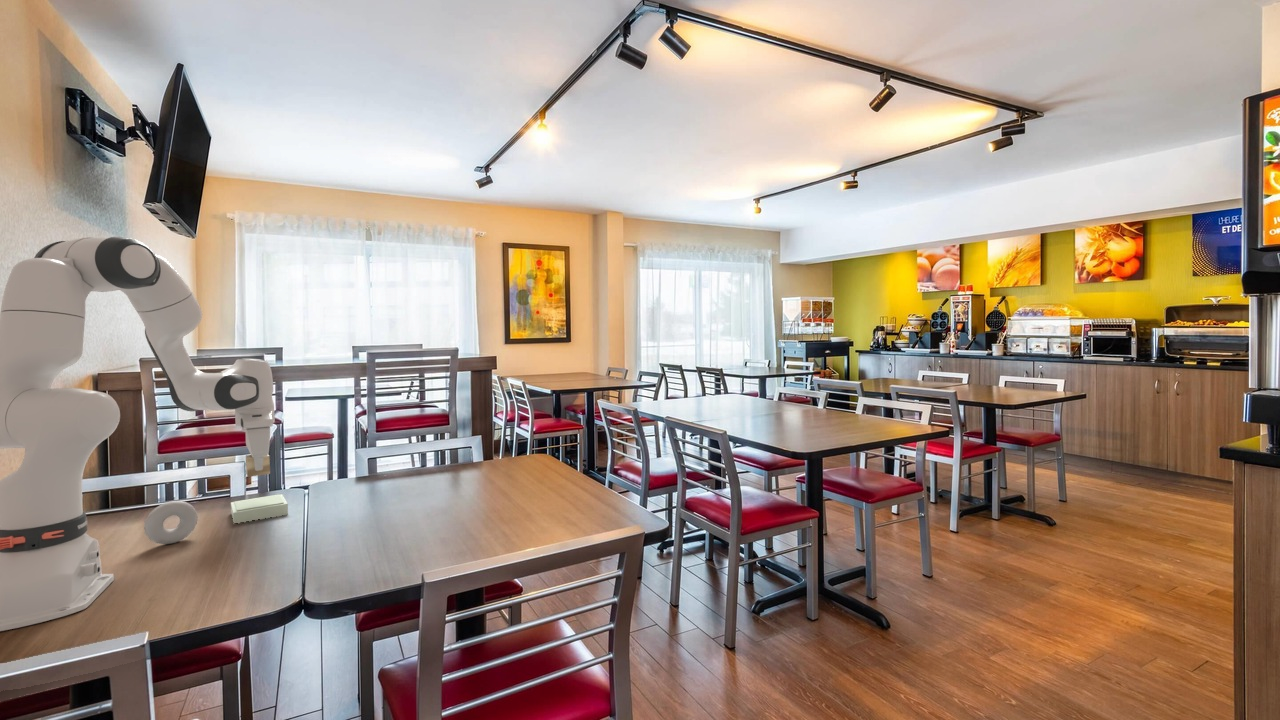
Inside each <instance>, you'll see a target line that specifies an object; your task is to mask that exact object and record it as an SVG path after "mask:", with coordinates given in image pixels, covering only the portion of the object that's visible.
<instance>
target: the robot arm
mask: <svg viewBox="0 0 1280 720" xmlns="http://www.w3.org/2000/svg"><path fill="white" fill-rule="evenodd" d="M10 271H11V272H10V274H9V276H8V278H7V280H6V284H5V288H4V292H3V295H2V300H1V308H0V449H1V450H2V449H3V450H4V449H24V456H23V458H22V462H21V464H20V465H19V467H18V469H17V470H15V471H12V472H11V473H9V474H7V475H6V476H5V477H3V478H1V479H0V632H4V631H8V630H12V629H13V630H14V629H18V628H23V627H27V626H32V625H36V624H40V623H43V622H47V621H50V620H51V621H52V620H55V619H56V620H57V619H59V618H62V617H66V616H69V615H72V614H74V613H77V612H80V611H84V610H86V609H87V608H88V607H89V606H90V605H91V604H92V603H93V602H94V601H95V600H96V599H97V598H98V597H100V595H101V594H102V593H103V592H104V591H105V590H106V589H107V588H108V587H109V586H110V584H111V583H113V582H114V581H115V576H114V573H103V571H102V562H101V553H100V543H99V540H98V539H96V538H94V537H91V536H90V535H88V534H87V531H88V518H87V514H86V512H85V511H83V508H84V507H83V477H84V471H85V467H86V464H87V462H88V461H89V458H90V456H91V455H92V453H93V452H94V450H95V449H96V448H97V447H98V446H99V445H100V444H101V443H102V442H103V441H105V440H107V439H108V438H109V437H110V436H111V435H112V434H113V433H114V432H115V431H116V429H117V428H118V426H119V423H120V419H121V412H120V411H121V410H120V407H119V405H118V403H117V401H116V400H115V399H114V398H113V397H112V396H111V395H110V394H108V393H106V392H103V391H98V390H91V389H86V388H79V387H70V388H69V387H66V388H63V387H62V388H59V387H58V388H57V387H56V388H51V386H52V383H53V382H54V381H55V378H56V377H57V376H58V375H59V374H60V373H61V372H62V371H64V370H65V369H67V368H68V367H71V366H73V365H75V364H76V363H77V362H79V360H80V359H81V357H82V355H83V349H84V347H83V346H84V338H85V337H84V335H85V324H86V323H85V322H86V300H87V297H88V296H89V295H90V293H91V292H98V293H105V292H106V293H107V292H115V291H121V292H122V293H123V294H124V295H126V296H127V298H128V300H129V301H130V304H131V305H132V307H133V309H134V310H135V311H136V312H137V314H138V315H139V317H140V319H141V321H142V323H143V325H144V335H145V339H146V341H147V344H148V346H149V347H150V350H151V352H152V354H153V355H154V357H155V359H156V361H157V363H158V365H159V366H160V369H161V371H162V373H163V375H164V376H165V378H166V380H167V385H168V388H169V395H170V398H171V400H172V402H173V403H174V405H175V406H177V407H178V409H180V410H182V411H186V412H201V411H232V410H234V415H235V416H234V418H235V420H234V421H235V426H236V427H240V428H241V432H244V433H245V445H246V446H245V447H246V448H247V449H248V452H249V455H252V457H254V467H255V470H256V471H259V470H262V469H263V458H264V457H263V456H267V455H268V454H269V452H270V443H271V427H273V426H274V423H276V418H275V416H276V415H275V403H274V401H273V392H274V378H273V373H272V372H273V371H272V368H271V366H270V363H269V362H268V361H266V360H265V359H260V358H259V359H258V358H246V357H245V358H244V357H242V358H238V359H236V360H235V361H234V363H233V364H232V365H230V366H229V367H227V368H225V369H224V370H222V371H220V372H203V371H201V370H199V369H198V368H197V367H195V365H194V364H193V362H192V359H191V357H190V356H189V354H188V352H187V349H186V347H185V346H184V342H183V338H184V337H186V335H188V334H190V333H192V332H193V331H194V330H196V328H197V327H198V326H199V324H200V323H201V320H202V318H203V317H202V316H203V311H202V309H201V306H200V304H199V301H198V299H197V298H196V297H195V295H194V294H193V292H192V290H191V288H190V287H189V285H188V284H187V282H186V281H185V280H184V279H183V277H182V275H180V273H179V271H178V270H176V269H175V267H174V266H173V265H172V264H171V263H170V262H169V261H168V260H167V259H166V258H165V257H163V256H161V255H159V254H155V253H154V251H153V250H152V249H151V248H150V247H149V246H148V245H147V244H145V243H144V242H142V241H140V240H138V239H135V238H131V237H125V236H111V237H81V238H75V239H70V240H59V241H56V242H53V243H50V244H47V245H45V246H44V247H42V248H41V249H40V250H39V251H37V253H36V254H35V256H34V257H33V258H28V259H23V260H20V261H19V262H17V263H16V264H15V265H14V266H13V267H12V269H11V270H10Z"/></svg>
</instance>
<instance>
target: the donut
mask: <svg viewBox="0 0 1280 720" xmlns="http://www.w3.org/2000/svg"><path fill="white" fill-rule="evenodd" d="M172 516H176V517H178V518H179V522H178V523H177V525H176V526H175V527H174V528H171V529H170V528H169V529H167V528H165V527H164V522H165V520H167V518H169V517H172ZM198 518H199V516H198V513H197V510H196V509H195V508H194V506H193V505H192V504H190V503H189V502H186V501H181V500H171V501H167V502H164V503H161V504H160V505H158V506H156V507H155V508H153V509H152V510H151V512H150V513H148V515H147V517H146V519H145V521H144V525H143V530H144V533H145V536H146V537H147V538H148V540H150V542H151V541H152V542H153V543H156V544H158V545H159V544H160V545H170V544H171V545H172V544H175V543H178V542H181V541H183V540H184V539H186V538H187V537H188V536H189V535H190V534H192V533H193V531H194V530H195V528H196V526H197V524H198V520H199V519H198Z"/></svg>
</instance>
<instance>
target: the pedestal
mask: <svg viewBox="0 0 1280 720" xmlns="http://www.w3.org/2000/svg"><path fill="white" fill-rule="evenodd" d="M288 505H289V504H288V502H287V500H286V498H285V497H284V494H282V493H281V494H274V495H273V494H272V495H266V496H261V497H254V498H249V499H242V500H235V501H232V502H230V513H231V518H233V519H232V523H233V522H234V523H238V524H241V523H240V522H244V523H247V522H246V521H249V522H253V521H252V520H255V521H259V520H258V519H260V520H265V518H266V519H271V518H270V517H272V518H276V516H277V517H281V516H282V515H283V516H287V515H289V507H288ZM234 523H233V524H234Z"/></svg>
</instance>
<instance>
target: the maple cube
mask: <svg viewBox="0 0 1280 720" xmlns="http://www.w3.org/2000/svg"><path fill="white" fill-rule="evenodd" d="M263 457H264V458H263V469H262V470H259V471H256V470H255V467H254V457H252V455H251V454H247V455H246V454H245V472H246V476H247V477H248V478H249V477H250V478H251V477H257V476H264V475H265V476H266V475H270V474H271V464H270V462H271V460H270V455H269V453H268V455H267V456H263Z"/></svg>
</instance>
